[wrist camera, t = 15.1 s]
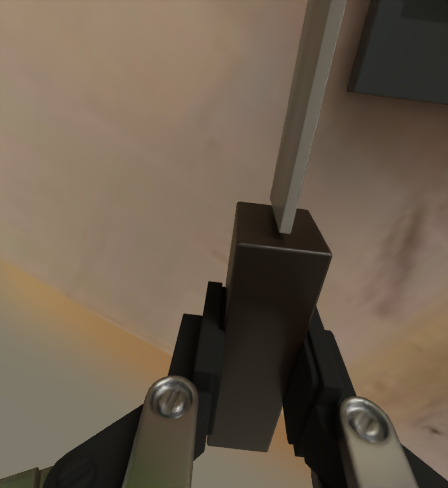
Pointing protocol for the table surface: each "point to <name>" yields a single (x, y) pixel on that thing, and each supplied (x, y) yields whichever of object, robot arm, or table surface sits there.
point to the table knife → (276, 260)
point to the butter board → (403, 51)
